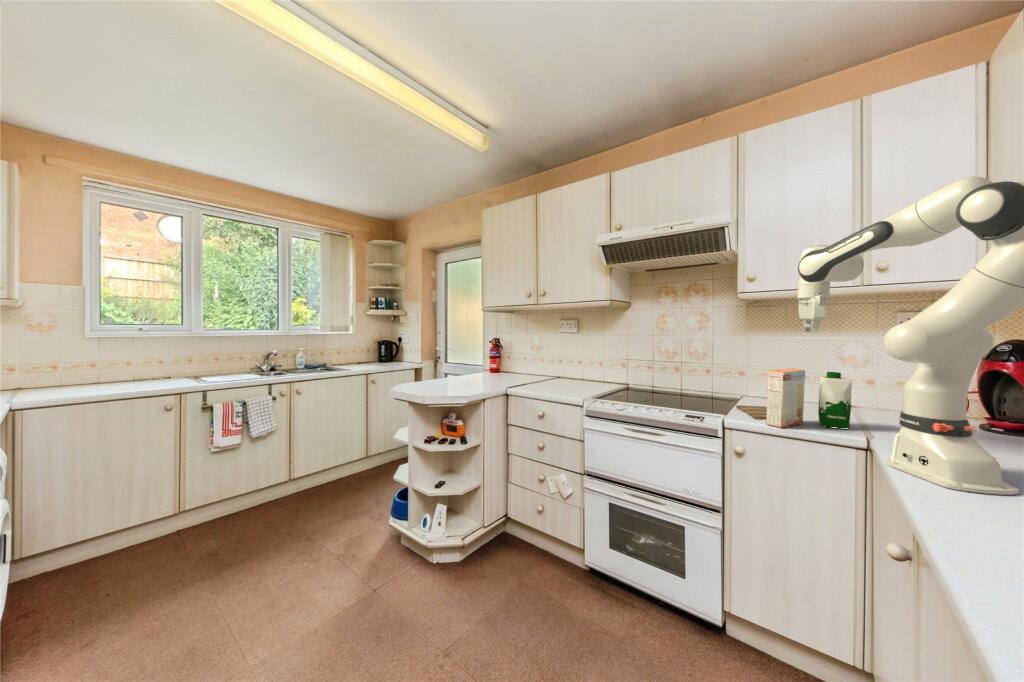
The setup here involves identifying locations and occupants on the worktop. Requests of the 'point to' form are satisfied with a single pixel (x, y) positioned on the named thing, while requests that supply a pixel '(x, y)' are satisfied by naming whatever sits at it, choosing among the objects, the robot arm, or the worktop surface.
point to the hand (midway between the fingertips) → (811, 332)
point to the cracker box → (785, 397)
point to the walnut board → (754, 411)
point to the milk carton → (834, 400)
